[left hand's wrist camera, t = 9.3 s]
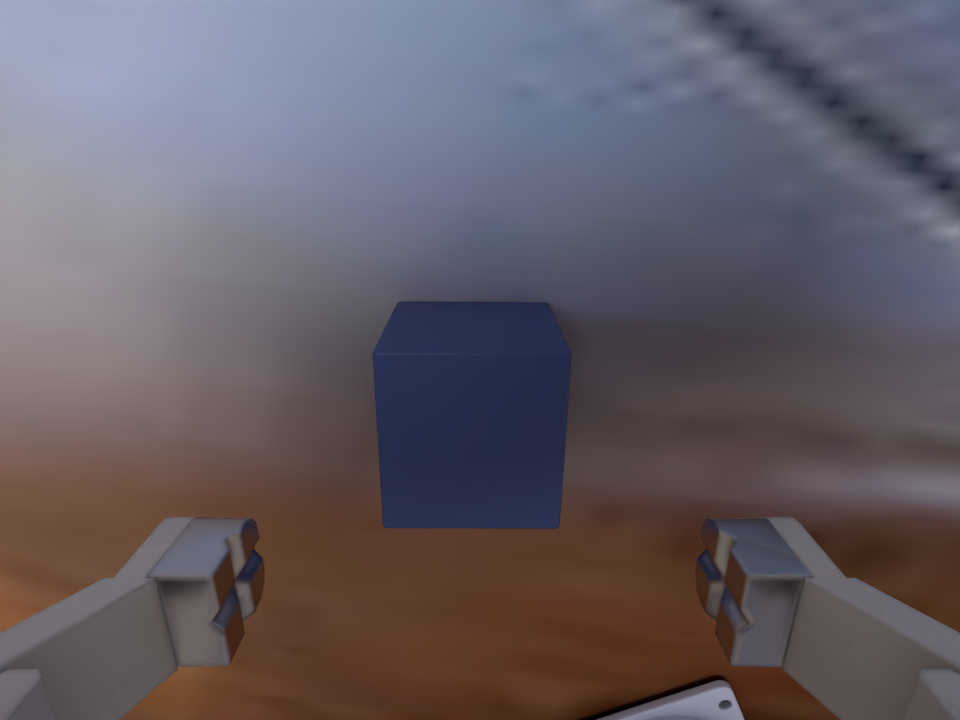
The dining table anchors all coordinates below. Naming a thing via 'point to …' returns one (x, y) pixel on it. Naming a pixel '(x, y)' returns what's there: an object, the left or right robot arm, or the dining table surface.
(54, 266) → the dining table surface
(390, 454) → the cube
